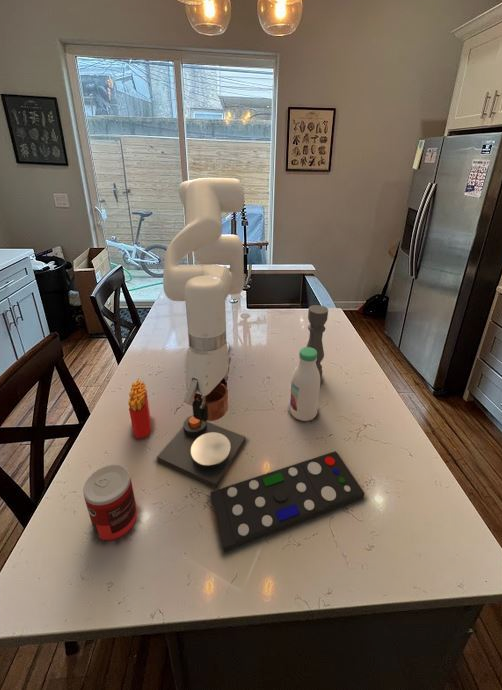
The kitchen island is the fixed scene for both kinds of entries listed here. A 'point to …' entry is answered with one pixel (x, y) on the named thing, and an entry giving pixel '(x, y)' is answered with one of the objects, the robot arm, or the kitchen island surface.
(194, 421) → the tare button
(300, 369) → the milk bottle
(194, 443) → the scale pan
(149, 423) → the french fries
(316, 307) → the pepper mill
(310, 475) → the remote control
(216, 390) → the bowl
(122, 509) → the canned food
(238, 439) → the scale
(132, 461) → the kitchen island surface
